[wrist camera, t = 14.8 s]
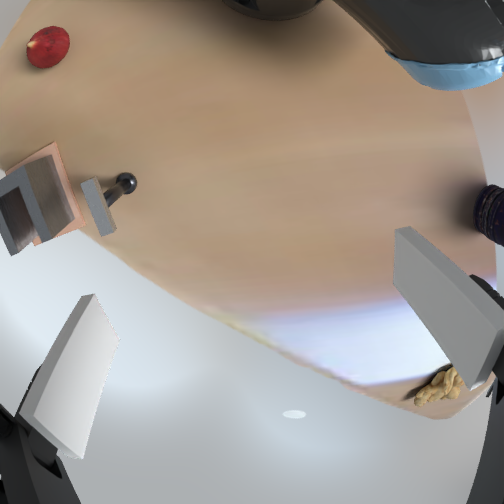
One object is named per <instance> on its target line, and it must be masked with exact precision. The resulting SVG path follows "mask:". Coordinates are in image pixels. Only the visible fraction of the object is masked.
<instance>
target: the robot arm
mask: <svg viewBox="0 0 504 504" xmlns="http://www.w3.org/2000/svg"><path fill="white" fill-rule="evenodd" d="M222 1H223V2H224V3H226V4H227V5H228V6H229V7H231V8H233V9H234V10H236V11H238V12H240V13H242V14H245V15H247V16H250V17H254V18H258V19H264V20H287V19H293V18H297V17H300V16H302V15H305V14H307V13H309V12H310V11H312V10H313V9H315V8H316V7H317V6H318V5H319V4H320V3H321V2H322V1H323V0H222ZM333 1H334V2H335V3H337V4H338V5H339V6H340V7H341V8H342V9H344V10H345V11H346V12H347V13H348V14H349V15H350V16H352V17H353V18H354V19H355V20H356V21H357V22H358V23H359V24H360V25H361V26H362V27H363V28H364V29H365V30H366V31H368V32H369V33H370V34H371V35H372V36H373V37H374V38H375V39H376V40H377V41H378V43H379V44H380V45H381V46H382V47H383V48H384V49H385V52H386V53H387V54H388V55H389V56H390V57H391V58H392V59H394V60H396V61H397V62H398V63H399V64H400V65H401V66H402V67H403V68H404V69H405V70H406V71H407V72H408V73H409V74H410V75H411V76H412V78H414V79H415V80H416V81H417V82H419V83H420V84H422V85H425V86H429V87H431V88H433V89H437V90H445V91H456V90H465V89H470V88H475V87H479V86H482V85H485V84H488V83H490V82H492V81H495V80H496V79H498V78H500V77H502V72H504V0H333ZM393 284H394V286H395V287H396V288H397V289H398V291H399V292H400V293H401V295H402V296H403V297H404V298H405V300H406V301H407V302H408V304H409V305H410V306H411V308H412V309H413V310H414V311H415V313H416V314H417V315H418V317H419V318H420V319H421V321H422V322H423V324H424V325H425V326H426V328H427V329H428V330H429V332H430V333H431V334H432V336H433V337H434V339H435V340H436V341H437V343H438V344H439V346H440V347H441V349H442V350H443V351H444V353H445V354H446V356H447V357H448V359H449V360H450V362H451V363H452V365H453V366H454V368H455V369H456V371H457V372H458V374H459V375H460V377H461V378H462V380H463V381H464V383H465V384H466V386H467V388H468V389H469V391H471V390H473V389H475V388H476V387H478V386H480V385H482V384H484V383H485V382H486V381H487V379H488V377H489V375H490V374H491V372H492V371H493V372H494V374H495V375H496V378H495V380H494V382H493V383H492V385H491V387H490V389H489V390H488V392H487V395H486V397H489V396H490V394H491V392H492V391H493V394H492V401H491V409H490V415H489V421H488V426H487V431H486V436H485V441H484V446H483V450H482V454H481V458H480V462H479V466H478V469H477V473H476V476H475V479H474V483H473V486H472V489H471V492H470V495H469V498H468V501H467V503H466V504H504V298H503V297H502V296H501V297H500V295H499V293H498V292H497V291H496V290H493V288H492V287H491V286H490V285H489V284H488V283H487V282H486V281H485V280H483V279H481V278H479V277H477V276H475V275H473V274H472V275H470V276H468V275H467V274H466V273H465V272H464V271H463V270H461V269H460V268H459V267H458V266H457V265H456V264H455V263H454V262H452V261H451V260H450V259H449V258H448V257H447V256H446V255H444V254H443V253H442V252H441V251H440V250H439V249H437V248H436V247H435V246H434V245H433V244H431V243H430V242H429V241H428V240H427V239H425V238H424V237H423V236H422V235H420V234H419V233H418V232H417V231H415V230H414V229H413V228H412V227H410V226H408V227H404V228H399V229H395V254H394V275H393ZM119 341H120V339H119V337H118V335H117V333H116V332H115V330H114V328H113V327H112V325H111V323H110V322H109V319H108V318H107V316H106V314H105V312H104V310H103V308H102V307H101V305H100V303H99V301H98V299H97V297H96V295H95V294H91V295H85V296H82V297H81V298H80V300H79V301H78V303H77V305H76V306H75V308H74V310H73V311H72V313H71V314H70V316H69V318H68V320H67V321H66V323H65V324H64V326H63V328H62V330H61V331H60V333H59V335H58V337H57V338H56V340H55V342H54V344H53V346H52V347H51V349H50V351H49V353H48V355H47V357H46V359H45V360H44V362H43V364H42V365H41V366H40V367H39V368H38V369H37V371H36V372H35V374H34V376H33V378H32V382H30V384H29V386H28V390H26V393H25V395H24V397H23V399H22V401H21V403H20V405H19V408H18V410H17V412H16V414H15V417H13V416H12V415H11V414H10V413H9V412H8V411H7V410H6V409H5V408H4V407H3V406H2V405H1V404H0V474H1V480H0V504H81V502H80V500H79V498H78V496H77V494H76V492H75V490H74V488H73V486H72V484H71V481H70V479H69V477H68V475H67V473H66V470H65V468H64V466H63V463H62V461H61V460H60V458H59V457H58V456H57V455H56V453H57V450H58V449H59V450H60V451H61V452H62V453H63V454H65V455H66V456H67V457H72V458H77V459H83V457H84V453H85V449H86V445H87V441H88V438H89V433H90V430H91V426H92V423H93V420H94V416H95V413H96V409H97V406H98V403H99V400H100V397H101V394H102V390H103V387H104V384H105V381H106V378H107V375H108V372H109V369H110V366H111V364H112V361H113V358H114V355H115V352H116V349H117V346H118V344H119Z"/></svg>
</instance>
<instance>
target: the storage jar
mask: <svg viewBox="0 0 504 504" xmlns="http://www.w3.org/2000/svg"><path fill="white" fill-rule="evenodd" d="M473 220H474V225H475V227H476V229H477V230H478V231H479V232H481V233H483V234H484V235H485V236H486V237H487V238H488V239H490V240H492V241H494V242H495V243H497V244H499V245H502V246H503V247H504V188H500V187H499V186H496V185H489V186H487V187H485V188H484V189H483V190H482V191H481V193H480V194H479V196H478V198H477V200H476V203H475V206H474V212H473Z"/></svg>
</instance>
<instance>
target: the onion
mask: <svg viewBox="0 0 504 504" xmlns="http://www.w3.org/2000/svg"><path fill="white" fill-rule="evenodd" d="M69 45H70V40H69V35H68V33H67V32H66V31H65V30H64V29H63V28H60V27H56V26H50V27H47V28H43V29H41V30H40V31H38V32H37V33H35V34H34V35H33V37H32V38H31V39H30V41H29V42H28V43H27V57H28V60H29V61H30V63H31V64H32V65H34V66H36V67H38V68H49V67H52V66H54V65H56V64H58V63H59V62H60V61H61V60H62V59H63V58H64V57H65V55H66V54H67V52H68V49H69Z"/></svg>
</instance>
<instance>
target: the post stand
mask: <svg viewBox="0 0 504 504" xmlns="http://www.w3.org/2000/svg"><path fill="white" fill-rule="evenodd" d="M80 185H81V188H82V190H83V193H84V195H85V198H86V201H87V203H88V206H89V208H90V211H91V213H92V216H93V218H94V220H95V223H96V225H97V228H98V230H99V232H100V235H101V237H102V236H105V235H108V234H111V233H114V232H115V230H116V229H117V228H116V225H115V223H114V221H113V218H112V216H111V213H110V211H109V207H110V206H111V205H112V204H113V203H114V202H115V201H116V200H117V199H118V198H120V197H121V196H122V195H123V194H130V193H132V192H133V191H134V190H135V189H136V186H137V180H136V178H135V176H134V175H133V174H131V173H123V174H122V175H120V176H119V177H118V178H117V181H116V184H115V185H114V186H113V187H111V188H110V189H109V190H107V191H106V192H105V193H103V192H102V190H101V187H100V184H99V182H98V179H97V176H96V177H93V178H91V179H89V180H86V181H84V182H82V183H81V184H80Z"/></svg>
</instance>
